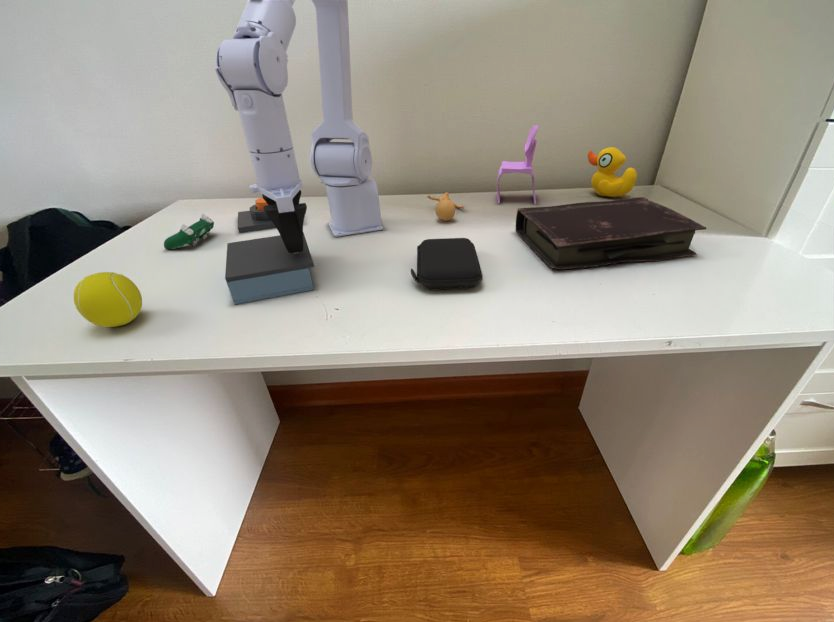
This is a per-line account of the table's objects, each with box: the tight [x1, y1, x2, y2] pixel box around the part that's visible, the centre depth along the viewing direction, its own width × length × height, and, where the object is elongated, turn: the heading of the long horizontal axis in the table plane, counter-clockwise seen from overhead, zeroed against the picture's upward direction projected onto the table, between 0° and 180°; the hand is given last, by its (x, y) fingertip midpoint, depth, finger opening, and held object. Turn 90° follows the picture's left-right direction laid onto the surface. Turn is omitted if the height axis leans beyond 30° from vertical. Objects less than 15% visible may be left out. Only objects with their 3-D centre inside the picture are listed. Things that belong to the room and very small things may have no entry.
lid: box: [224, 231, 315, 283], centre depth 63 cm, size 12×13×4 cm
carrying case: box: [410, 237, 484, 291], centre depth 66 cm, size 11×3×15 cm
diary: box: [515, 196, 707, 270], centre depth 72 cm, size 19×25×5 cm
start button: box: [254, 197, 268, 210], centre depth 85 cm, size 4×4×2 cm
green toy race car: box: [163, 213, 215, 250], centre depth 78 cm, size 9×4×6 cm
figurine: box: [426, 191, 465, 222], centre depth 87 cm, size 8×6×12 cm
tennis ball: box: [73, 271, 143, 328], centre depth 55 cm, size 7×7×7 cm
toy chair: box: [496, 124, 539, 205], centre depth 90 cm, size 8×9×15 cm
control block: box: [237, 203, 277, 234], centre depth 86 cm, size 12×10×3 cm
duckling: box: [587, 146, 638, 198], centre depth 92 cm, size 11×5×10 cm, turn 51°
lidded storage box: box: [226, 267, 314, 305], centre depth 65 cm, size 11×13×4 cm
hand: (294, 244), depth 65 cm, fingers closed on lid, 5 cm apart
